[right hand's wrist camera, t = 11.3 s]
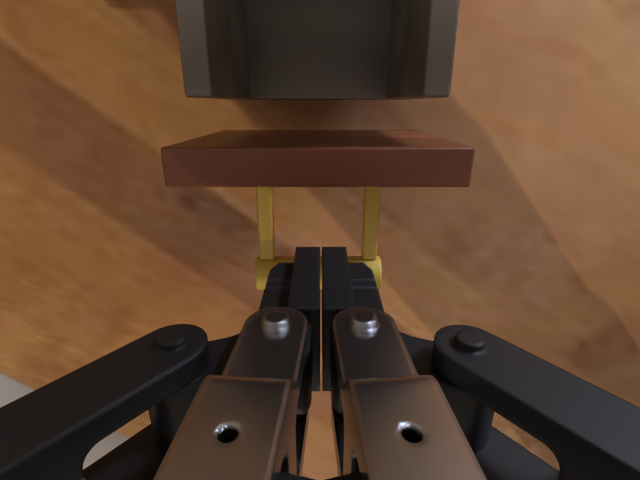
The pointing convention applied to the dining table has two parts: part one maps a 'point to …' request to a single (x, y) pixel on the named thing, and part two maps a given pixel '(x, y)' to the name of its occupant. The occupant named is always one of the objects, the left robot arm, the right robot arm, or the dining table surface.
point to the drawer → (317, 84)
